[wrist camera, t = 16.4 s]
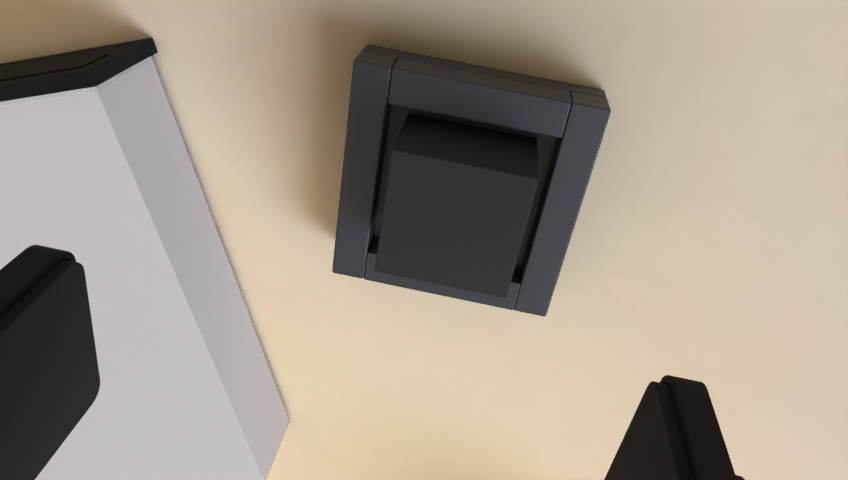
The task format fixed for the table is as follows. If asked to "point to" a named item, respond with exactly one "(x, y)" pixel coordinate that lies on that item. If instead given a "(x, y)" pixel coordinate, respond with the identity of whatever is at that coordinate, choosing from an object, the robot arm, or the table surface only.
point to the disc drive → (136, 271)
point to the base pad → (482, 107)
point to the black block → (456, 204)
